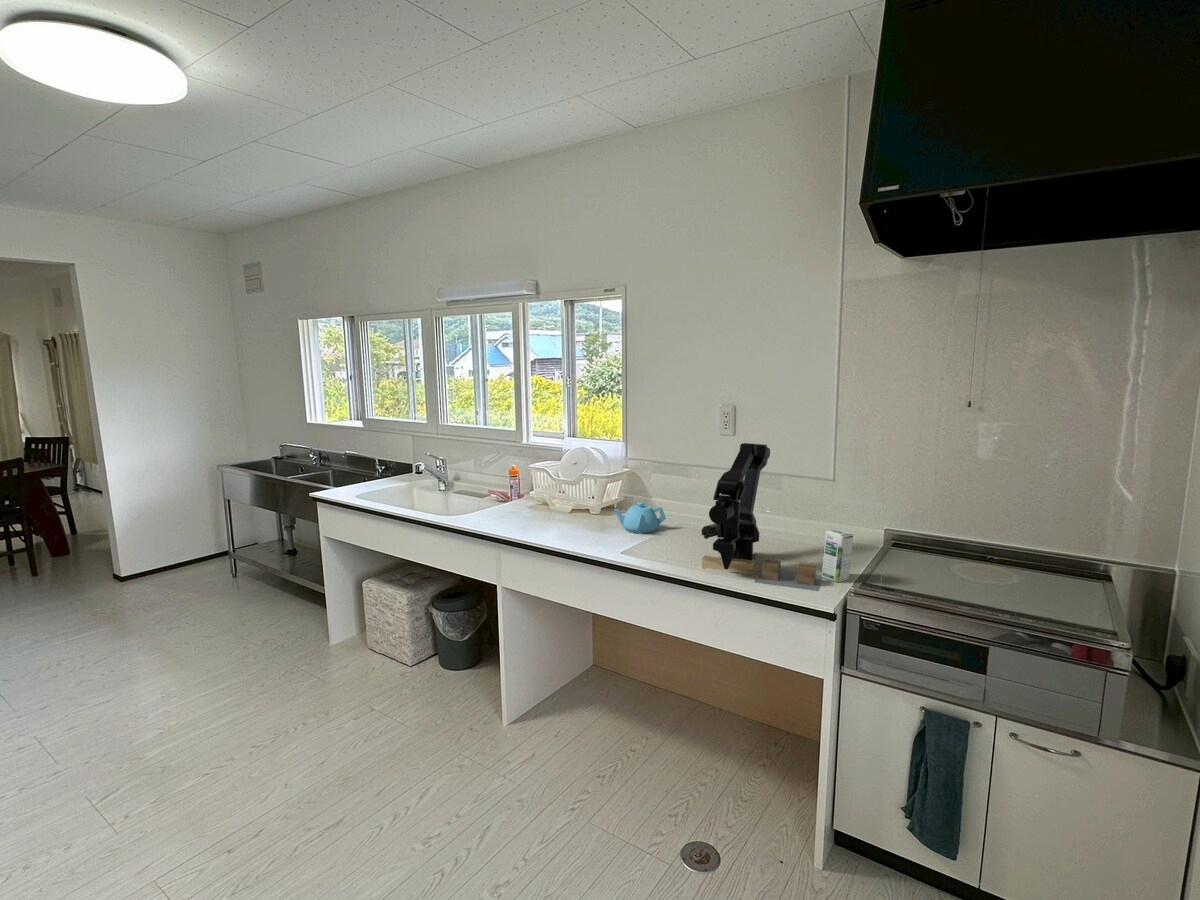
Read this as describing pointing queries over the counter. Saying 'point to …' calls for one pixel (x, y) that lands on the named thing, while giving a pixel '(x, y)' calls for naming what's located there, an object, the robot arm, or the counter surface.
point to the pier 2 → (806, 574)
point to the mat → (790, 580)
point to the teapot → (641, 518)
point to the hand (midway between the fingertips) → (728, 565)
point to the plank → (735, 564)
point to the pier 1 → (771, 569)
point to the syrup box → (837, 555)
